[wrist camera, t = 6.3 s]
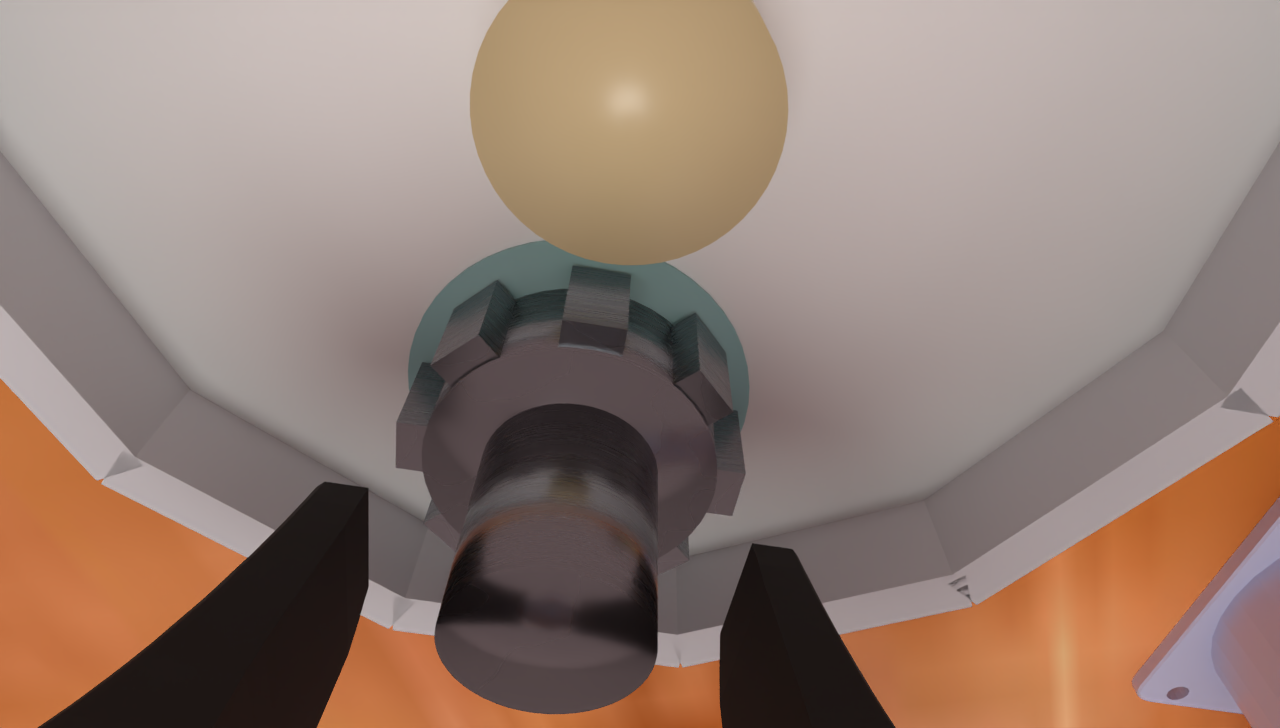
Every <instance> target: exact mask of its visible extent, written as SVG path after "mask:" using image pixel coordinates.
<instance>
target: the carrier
mask: <svg viewBox="0 0 1280 728" xmlns="http://www.w3.org/2000/svg"><path fill="white" fill-rule="evenodd" d="M572 266H579V267H585V268H591V269H597V270H603V271H609V272H615V273H621V274H627V275H631V283H630V299H631V300H634V301H636V302H638V303H640V304H642V305H644V306H646V307H648V308H650V309H652V310H653V311H655V312H656V313H658V314H659V315H661V316H663V317H664V318H666V319H667V320H668V321H669V322H670V323H671V324H673V325H675V324H677V323H678V322H680V321H682V320H684V319H685V318H687V317H689V316H690V315H692V314H694V313H697V315H698V316H699V317H700V319H701V320H702V321H703V323H704V324H705V325H706V327H707V328H708V329H709V331H710V332H711V333H712V334H713V336H714V337H715V338H716V340H717V341H718V342H719V344H720V345H721V346H722V348H723V349H724V350H725V352H726V356H727V364H728V372H729V380H730V388H731V396H732V404H733V410H736V411H738V418H739V426H740V434H741V441H742V449H743V456H744V464H745V472H746V475H745V478H744V481H743V484H742V487H741V490H740V493H739V496H738V500H737V503H736V506H735V509H734V512H733V515H732V516H727V515H720V514H713V513H706V514H705V516H704V518H703V519H702V521H701V522H700V524H699V525H698V526H697V527H696V529H695V530H694V531H693V532H692V533H691V534H690V535H689V536H688V538H689V561H687V562H685V563H683V564H681V565H679V566H677V567H674V568H672V569H670V570H668V571H666V572H664V573H662V574H659V575H658V653H657V658H656V662H655V665H662V666H670V667H679V664H680V663H681V665H682V667H687V666H692V665H697V664H702V663H706V662H711V661H716V660H720V632H721V630H722V627H723V624H724V621H725V618H726V615H727V613H728V610H729V607H730V604H731V601H732V598H733V596H734V593H735V590H736V587H737V584H738V582H739V579H740V576H741V573H742V570H743V567H744V565H745V562H746V559H747V556H748V553H749V550H750V548H751V545H752V543H754V544H761V545H768V546H775V547H782V548H789V549H793V550H794V552H795V553H796V554H797V556H798V558H799V560H800V562H801V564H802V566H803V568H804V570H805V572H806V574H807V575H808V577H809V579H810V581H811V583H812V585H813V587H814V589H815V591H816V593H817V595H818V597H819V599H820V601H821V602H822V604H823V606H824V608H825V610H826V612H827V614H828V615H829V617H830V619H831V621H832V623H833V625H834V627H835V628H836V630H837V632H838V634H839V635H840V634H845V633H849V632H854V631H859V630H864V629H868V628H873V627H878V626H883V625H887V624H892V623H897V622H902V621H906V620H911V619H916V618H921V617H925V616H930V615H935V614H940V613H945V612H949V611H954V610H959V609H964V608H968V607H972V603H971V601H972V602H973V603H975V604H976V605H977V604H979V603H981V602H982V601H984V600H986V599H987V598H989V597H990V596H992V595H994V594H995V593H997V592H998V591H1000V590H1002V589H1003V588H1005V587H1007V586H1008V585H1010V584H1011V583H1013V582H1015V581H1016V580H1018V579H1019V578H1021V577H1023V576H1024V575H1026V574H1028V573H1029V572H1031V571H1032V570H1034V569H1036V568H1037V567H1039V566H1040V565H1042V564H1044V563H1045V562H1047V561H1049V560H1050V559H1052V558H1053V557H1055V556H1057V555H1058V554H1060V553H1061V552H1063V551H1065V550H1066V549H1068V548H1070V547H1071V546H1073V545H1074V544H1076V543H1078V542H1079V541H1081V540H1083V539H1084V538H1086V537H1087V536H1089V535H1091V534H1092V533H1094V532H1095V531H1097V530H1099V529H1100V528H1102V527H1104V526H1105V525H1107V524H1108V523H1110V522H1112V521H1113V520H1115V519H1116V518H1118V517H1120V516H1121V515H1123V514H1125V513H1126V512H1128V511H1129V510H1131V509H1133V508H1134V507H1136V506H1137V505H1139V504H1141V503H1142V502H1144V501H1146V500H1147V499H1149V498H1150V497H1152V496H1154V495H1155V494H1157V493H1158V492H1160V491H1162V490H1163V489H1165V488H1167V487H1168V486H1170V485H1171V484H1173V483H1175V482H1176V481H1178V480H1179V479H1181V478H1183V477H1184V476H1186V475H1188V474H1189V473H1191V472H1192V471H1194V470H1196V469H1197V468H1199V467H1200V466H1202V465H1204V464H1205V463H1207V462H1209V461H1210V460H1212V459H1213V458H1215V457H1217V456H1218V455H1220V454H1221V453H1223V452H1225V451H1226V450H1228V449H1230V448H1231V447H1233V446H1234V445H1236V444H1238V443H1239V442H1241V441H1242V440H1244V439H1246V438H1247V437H1249V436H1251V435H1252V434H1254V433H1255V432H1257V431H1259V430H1260V429H1262V428H1264V427H1265V426H1267V425H1268V424H1270V423H1272V422H1273V421H1272V419H1271V418H1270V417H1269V416H1273V417H1279V415H1280V0H0V378H1V379H2V380H3V381H4V382H5V384H6V385H7V386H8V387H9V388H10V389H11V390H12V391H13V392H14V393H15V394H16V395H17V396H18V397H19V398H20V400H21V401H22V402H23V403H24V404H25V405H26V406H27V407H28V408H29V409H30V410H31V411H32V412H33V413H34V414H35V415H36V417H37V418H38V419H39V420H40V421H41V422H42V423H43V424H44V425H45V426H46V427H47V428H48V429H49V430H50V431H51V433H52V434H53V435H54V436H55V437H56V438H57V439H58V440H59V441H60V442H61V443H62V444H63V445H64V446H65V447H66V449H67V450H68V451H69V452H70V453H71V454H72V455H73V456H74V457H75V458H76V459H77V460H78V461H79V462H80V463H81V464H82V466H83V467H84V468H85V469H86V470H87V471H88V472H89V473H90V474H91V475H92V476H93V477H94V478H95V479H96V480H100V479H103V478H104V480H103V482H102V483H101V484H102V485H104V486H106V487H108V488H110V489H112V490H114V491H116V492H118V493H120V494H122V495H124V496H126V497H128V498H130V499H132V500H134V501H136V502H138V503H140V504H142V505H144V506H146V507H148V508H150V509H152V510H154V511H156V512H158V513H160V514H162V515H164V516H166V517H168V518H170V519H172V520H174V521H176V522H178V523H180V524H182V525H184V526H186V527H188V528H190V529H192V530H194V531H196V532H198V533H200V534H201V535H203V536H205V537H207V538H209V539H211V540H213V541H215V542H217V543H219V544H221V545H223V546H225V547H227V548H229V549H231V550H233V551H235V552H237V553H239V554H241V555H243V556H245V557H247V558H248V557H249V556H250V555H251V554H252V553H253V552H254V551H255V550H256V549H257V548H258V547H259V546H260V545H261V544H262V543H263V542H264V541H265V540H266V539H267V538H268V537H269V536H270V535H271V534H272V533H273V532H274V531H275V530H276V529H277V528H278V527H279V526H280V525H281V524H282V523H283V522H284V521H285V520H286V519H287V518H288V517H289V516H290V515H291V514H292V513H293V512H294V511H295V509H296V508H297V507H298V506H299V505H300V504H301V503H302V502H303V501H304V500H305V499H306V498H307V497H308V496H309V494H310V493H311V492H312V491H313V490H314V489H315V488H316V487H317V486H318V485H320V484H322V483H323V482H332V483H339V484H345V485H352V486H359V487H366V488H369V587H368V591H367V594H366V597H365V601H364V604H363V608H362V611H361V614H360V615H362V616H364V617H366V618H368V619H370V620H372V621H374V622H376V623H378V624H380V625H382V626H384V627H386V628H388V629H389V628H390V627H391V626H392V625H393V630H395V631H403V632H410V633H418V634H426V635H433V636H435V634H434V632H435V626H436V621H437V618H438V614H439V611H440V607H441V603H442V600H443V596H444V592H445V589H446V585H447V581H448V578H449V574H450V571H451V567H452V563H453V560H454V556H455V551H454V550H453V549H452V548H451V547H449V546H448V545H447V544H446V543H445V542H444V541H443V540H442V539H440V538H439V537H438V536H437V535H436V534H435V533H434V532H432V531H431V530H430V529H429V528H428V527H427V526H426V525H424V524H423V523H424V520H425V517H426V514H427V511H428V508H429V505H430V502H431V499H432V498H431V496H430V493H429V491H428V488H427V486H426V483H425V479H424V474H423V472H421V471H414V470H407V469H400V468H396V422H397V419H398V417H399V415H400V412H401V410H402V408H403V405H404V403H405V401H406V399H407V396H408V394H409V392H410V389H411V387H412V385H413V382H414V380H415V378H416V375H417V373H418V371H419V368H420V366H421V364H422V362H425V363H432V360H433V358H434V355H435V353H436V350H437V348H438V346H439V343H440V341H441V338H442V336H443V334H444V331H445V329H446V326H447V324H448V321H449V319H450V317H451V314H452V312H453V309H454V308H456V307H457V306H459V305H460V304H462V303H463V302H465V301H466V300H468V299H469V298H471V297H472V296H474V295H475V294H477V293H478V292H480V291H481V290H483V289H484V288H486V287H487V286H489V285H490V284H492V283H494V282H495V281H497V280H498V281H499V282H500V284H501V285H502V286H503V287H504V288H505V289H506V290H507V291H508V293H509V294H510V295H511V296H512V297H513V298H514V299H517V298H520V297H522V296H525V295H529V294H533V293H537V292H541V291H547V290H555V289H568V287H569V282H570V277H571V271H572Z"/></svg>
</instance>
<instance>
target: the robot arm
mask: <svg viewBox="0 0 1280 728" xmlns="http://www.w3.org/2000/svg"><path fill="white" fill-rule="evenodd" d="M368 587H369V488H366V487H359V486H352V485H345V484H339V483H332V482H323V483H322V484H320V485H318V486H317V487H316V488H315V489H314V490H313V491H312V492H311V493H310V494H309V496H308V497H307V498H306V499H305V500H304V501H303V502H302V503H301V504H300V505H299V506H298V507H297V508H296V509H295V511H294V512H293V513H292V514H291V515H290V516H289V517H288V518H287V519H286V520H285V521H284V522H283V523H282V524H281V525H280V526H279V527H278V528H277V529H276V530H275V531H274V532H273V533H272V534H271V535H270V536H269V537H268V538H267V539H266V540H265V541H264V542H263V543H262V544H261V545H260V546H259V547H258V548H257V549H256V550H255V551H254V552H253V553H252V554H251V555H250V556H249V557H248V558H247V559H246V560H245V561H244V562H242V563H241V564H240V565H239V566H238V567H237V568H236V569H235V570H234V571H233V572H232V573H231V574H230V575H229V576H228V577H226V578H225V579H224V580H223V581H222V582H221V583H220V584H219V585H218V586H217V587H216V588H215V589H214V590H213V591H212V592H210V593H209V594H208V595H207V596H206V597H205V598H204V599H203V600H201V601H200V602H199V603H198V604H197V605H196V606H194V607H193V608H192V609H191V610H190V611H189V612H187V613H186V614H185V615H184V616H183V617H182V618H180V619H179V620H178V621H177V622H176V623H175V624H173V625H172V626H171V627H170V628H169V629H168V630H166V631H165V632H164V633H163V634H162V635H161V636H159V637H158V638H157V639H156V640H155V641H154V642H152V643H151V644H150V645H149V646H147V647H146V648H145V649H144V650H142V651H141V652H140V653H139V654H137V655H136V656H135V657H134V658H132V659H131V660H130V661H129V662H127V663H126V664H125V665H123V666H122V667H121V668H120V669H118V670H117V671H116V672H114V673H113V674H112V675H111V676H109V677H108V678H107V679H105V680H104V681H102V682H101V683H100V684H98V685H97V686H96V687H94V688H93V689H92V690H90V691H89V692H88V693H86V694H85V695H84V696H82V697H81V698H80V699H78V700H77V701H75V702H74V703H73V704H71V705H70V706H69V707H67V708H66V709H64V710H63V711H61V712H60V713H58V714H57V715H55V716H54V717H53V718H51V719H50V720H48V721H47V722H45V723H44V724H42V725H41V726H39V727H38V728H317V725H318V723H319V721H320V719H321V716H322V714H323V712H324V709H325V707H326V705H327V702H328V700H329V698H330V695H331V693H332V691H333V688H334V686H335V684H336V681H337V679H338V677H339V675H340V672H341V670H342V667H343V665H344V663H345V660H346V658H347V656H348V653H349V650H350V647H351V643H352V640H353V637H354V634H355V631H356V627H357V624H358V621H359V618H360V614H361V611H362V608H363V604H364V601H365V597H366V594H367V591H368ZM1132 686H1133V688H1134V689H1135V691H1136V693H1137V695H1138V696H1139V697H1140V698H1141V699H1143V700H1146V701H1150V702H1157V703H1164V704H1172V705H1179V706H1187V707H1194V708H1202V709H1209V710H1216V711H1224V712H1231V713H1239V714H1244V716H1245V718H1246V719H1247V721H1248V722H1249V724H1250V725H1251V727H1252V728H1280V497H1279V498H1278V499H1277V500H1276V502H1275V503H1274V504H1273V505H1272V507H1271V508H1270V509H1269V510H1268V512H1267V513H1266V514H1265V515H1264V517H1263V518H1262V519H1261V520H1260V521H1259V523H1258V524H1257V525H1256V526H1255V528H1254V529H1253V530H1252V531H1251V533H1250V534H1249V535H1248V536H1247V538H1246V539H1245V540H1244V541H1243V542H1242V544H1241V545H1240V546H1239V547H1238V549H1237V550H1236V551H1235V552H1234V554H1233V555H1232V556H1231V557H1230V558H1229V560H1228V561H1227V562H1226V563H1225V565H1224V566H1223V567H1222V568H1221V570H1220V571H1219V572H1218V573H1217V575H1216V576H1215V577H1214V578H1213V579H1212V581H1211V582H1210V583H1209V584H1208V586H1207V587H1206V588H1205V589H1204V591H1203V592H1202V593H1201V594H1200V596H1199V597H1198V598H1197V599H1196V600H1195V602H1194V603H1193V604H1192V605H1191V607H1190V608H1189V609H1188V610H1187V612H1186V613H1185V614H1184V615H1183V617H1182V618H1181V619H1180V620H1179V621H1178V623H1177V624H1176V625H1175V626H1174V628H1173V629H1172V630H1171V631H1170V633H1169V634H1168V635H1167V636H1166V638H1165V639H1164V640H1163V641H1162V642H1161V644H1160V645H1159V646H1158V647H1157V649H1156V650H1155V651H1154V652H1153V654H1152V655H1151V656H1150V657H1149V659H1148V660H1147V661H1146V662H1145V663H1144V665H1143V666H1142V667H1141V668H1140V670H1139V671H1138V672H1137V673H1136V675H1135V676H1134V678H1133V680H1132ZM720 708H721V718H722V727H723V728H895V726H894V725H893V723H892V722H891V720H890V719H889V717H888V715H887V714H886V712H885V711H884V709H883V708H882V706H881V705H880V703H879V701H878V700H877V698H876V697H875V695H874V693H873V692H872V690H871V689H870V687H869V685H868V683H867V682H866V680H865V678H864V677H863V675H862V673H861V672H860V670H859V668H858V667H857V665H856V663H855V662H854V660H853V658H852V656H851V655H850V653H849V651H848V650H847V648H846V646H845V644H844V643H843V641H842V639H841V637H840V636H839V634H838V632H837V630H836V628H835V627H834V625H833V623H832V621H831V619H830V617H829V615H828V614H827V612H826V610H825V608H824V606H823V604H822V602H821V601H820V599H819V597H818V595H817V593H816V591H815V589H814V587H813V585H812V583H811V581H810V579H809V577H808V575H807V574H806V572H805V570H804V568H803V566H802V564H801V562H800V560H799V558H798V556H797V554H796V553H795V552H794V550H793V549H789V548H782V547H775V546H768V545H761V544H754V543H752V545H751V548H750V550H749V553H748V556H747V559H746V562H745V565H744V567H743V570H742V573H741V576H740V579H739V582H738V584H737V587H736V590H735V593H734V596H733V598H732V601H731V604H730V607H729V610H728V613H727V615H726V618H725V621H724V624H723V627H722V630H721V632H720Z"/></svg>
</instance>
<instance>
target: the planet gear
mask: <svg viewBox="0 0 1280 728" xmlns="http://www.w3.org/2000/svg"><path fill="white" fill-rule="evenodd" d="M630 283H631V275H627V274H621V273H615V272H609V271H603V270H597V269H591V268H585V267H579V266H572V271H571V277H570V282H569V287H568V289H555V290H547V291H541V292H537V293H533V294H529V295H525V296H522V297H520V298H517V299H514V298H513V297H512V296H511V295H510V294H509V293H508V291H507V290H506V289H505V288H504V287H503V286H502V285H501V284H500V282H499V281H498V280H497V281H495V282H494V283H492V284H490V285H489V286H487V287H486V288H484V289H483V290H481V291H480V292H478V293H477V294H475V295H474V296H472V297H471V298H469V299H468V300H466V301H465V302H463V303H462V304H460V305H459V306H457V307H456V308H454V309H453V312H452V314H451V317H450V319H449V321H448V324H447V326H446V329H445V331H444V334H443V336H442V338H441V341H440V343H439V346H438V348H437V350H436V353H435V355H434V358H433V360H432V363H425V362H422V364H421V366H420V368H419V371H418V373H417V375H416V378H415V380H414V382H413V385H412V387H411V389H410V392H409V394H408V396H407V399H406V401H405V403H404V405H403V408H402V410H401V412H400V415H399V417H398V419H397V422H396V468H400V469H407V470H414V471H421V472H423V474H424V479H425V483H426V486H427V488H428V491H429V493H430V496H431V498H432V499H431V502H430V505H429V508H428V511H427V514H426V517H425V520H424V523H423V524H424V525H426V526H427V527H428V528H429V529H430V530H431V531H432V532H434V533H435V534H436V535H437V536H438V537H439V538H440V539H442V540H443V541H444V542H445V543H446V544H447V545H448V546H449V547H451V548H452V549H453V550H454V551H455V556H454V560H453V563H452V567H451V571H450V574H449V578H448V581H447V585H446V589H445V592H444V596H443V600H442V603H441V607H440V611H439V614H438V618H437V621H436V626H435V632H434V634H435V645H436V649H437V652H438V655H439V657H440V659H441V661H442V663H443V664H444V666H445V667H446V669H447V670H448V671H449V672H450V673H451V675H452V676H453V677H454V678H455V679H456V680H458V681H459V682H460V683H461V684H462V685H463V686H465V687H466V688H468V689H469V690H471V691H472V692H474V693H475V694H477V695H479V696H481V697H483V698H485V699H487V700H489V701H492V702H494V703H496V704H499V705H502V706H505V707H508V708H512V709H516V710H520V711H526V712H532V713H542V714H569V713H579V712H585V711H590V710H594V709H598V708H601V707H604V706H607V705H610V704H612V703H615V702H617V701H619V700H621V699H623V698H624V697H626V696H628V695H629V694H631V693H632V692H633V691H635V690H636V689H637V688H638V687H639V686H641V685H642V683H643V682H644V681H645V680H646V679H647V678H648V676H649V675H650V673H651V671H652V670H653V667H654V665H655V662H656V658H657V653H658V575H659V574H662V573H664V572H666V571H668V570H670V569H672V568H674V567H677V566H679V565H681V564H683V563H685V562H687V561H689V538H688V536H689V535H690V534H691V533H692V532H693V531H694V530H695V529H696V527H697V526H698V525H699V524H700V522H701V521H702V519H703V518H704V516H705V514H706V513H713V514H720V515H727V516H732V515H733V512H734V509H735V506H736V503H737V500H738V496H739V493H740V490H741V487H742V484H743V481H744V478H745V475H746V472H745V464H744V456H743V449H742V441H741V434H740V426H739V418H738V411H736V410H733V404H732V396H731V388H730V380H729V372H728V364H727V356H726V352H725V350H724V349H723V348H722V346H721V345H720V344H719V342H718V341H717V340H716V338H715V337H714V336H713V334H712V333H711V332H710V331H709V329H708V328H707V327H706V325H705V324H704V323H703V321H702V320H701V319H700V317H699V316H698V315H697V313H694V314H692V315H690V316H689V317H687V318H685V319H684V320H682V321H680V322H678V323H677V324H675V325H673V324H671V323H670V322H669V321H668V320H667V319H666V318H664V317H663V316H661V315H659V314H658V313H656V312H655V311H653V310H652V309H650V308H648V307H646V306H644V305H642V304H640V303H638V302H636V301H634V300H631V299H630Z"/></svg>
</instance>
